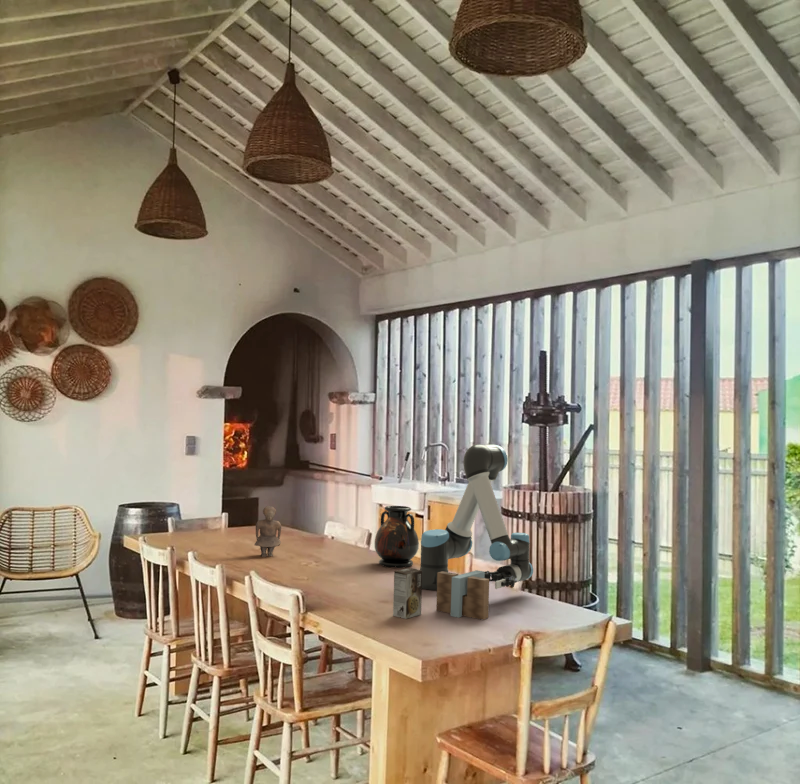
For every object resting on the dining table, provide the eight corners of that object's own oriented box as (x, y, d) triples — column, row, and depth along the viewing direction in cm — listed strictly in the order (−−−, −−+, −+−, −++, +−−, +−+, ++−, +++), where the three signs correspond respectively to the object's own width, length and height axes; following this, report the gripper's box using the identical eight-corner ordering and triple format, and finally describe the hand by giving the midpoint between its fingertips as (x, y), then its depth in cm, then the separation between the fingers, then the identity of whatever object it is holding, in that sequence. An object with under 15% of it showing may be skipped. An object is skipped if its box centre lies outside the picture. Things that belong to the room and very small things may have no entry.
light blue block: (450, 615, 287) (451, 577, 288) (475, 607, 302) (476, 570, 302) (458, 617, 285) (460, 578, 286) (483, 608, 300) (484, 571, 300)
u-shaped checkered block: (436, 610, 295) (437, 572, 295) (441, 608, 298) (442, 571, 298) (483, 619, 283) (484, 580, 283) (488, 618, 286) (489, 579, 286)
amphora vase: (426, 565, 386) (428, 507, 387) (401, 571, 368) (403, 510, 369) (390, 559, 398) (392, 503, 399) (364, 565, 380) (366, 506, 381)
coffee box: (407, 611, 292) (409, 567, 292) (421, 614, 288) (423, 570, 288) (392, 615, 285) (393, 570, 285) (406, 619, 281) (407, 573, 281)
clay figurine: (255, 558, 389) (257, 507, 390) (252, 554, 399) (254, 504, 399) (281, 557, 393) (283, 507, 394) (278, 554, 403) (279, 504, 404)
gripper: (535, 589, 311) (508, 597, 294) (481, 579, 326) (452, 587, 309) (536, 569, 311) (509, 577, 294) (481, 561, 326) (453, 567, 309)
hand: (480, 582), depth 301 cm, fingers open, 13 cm apart
